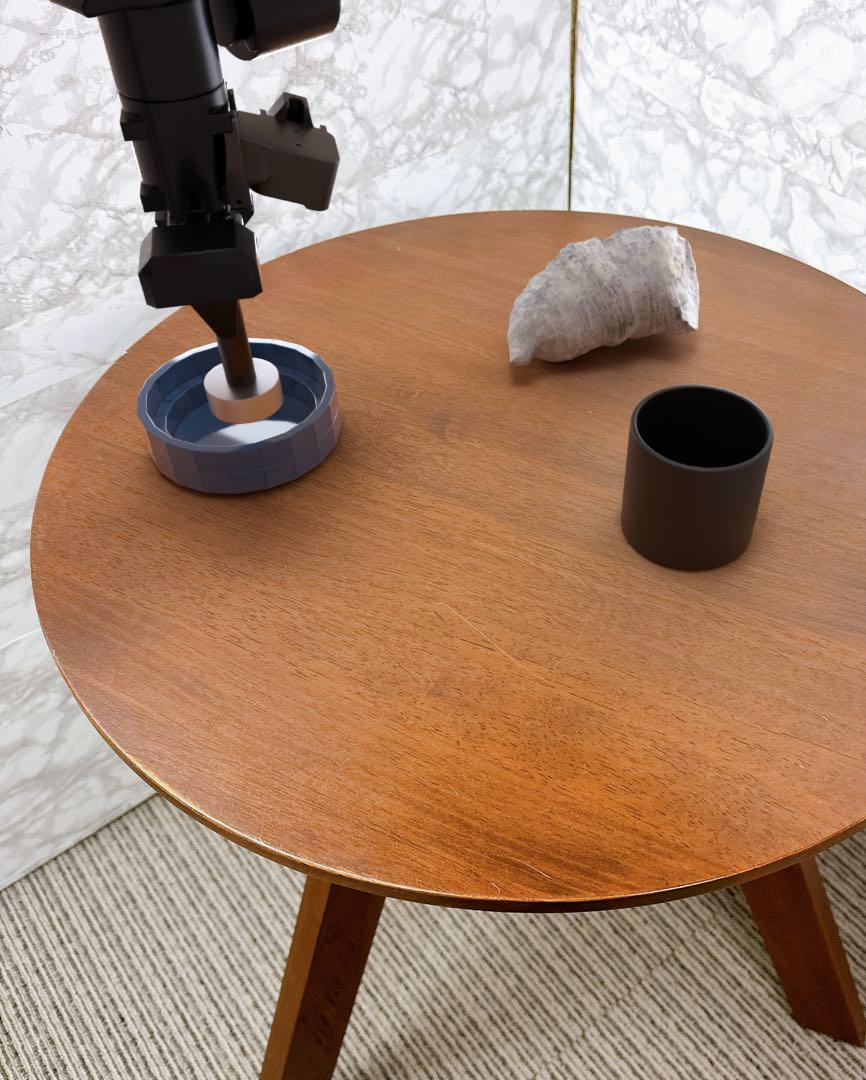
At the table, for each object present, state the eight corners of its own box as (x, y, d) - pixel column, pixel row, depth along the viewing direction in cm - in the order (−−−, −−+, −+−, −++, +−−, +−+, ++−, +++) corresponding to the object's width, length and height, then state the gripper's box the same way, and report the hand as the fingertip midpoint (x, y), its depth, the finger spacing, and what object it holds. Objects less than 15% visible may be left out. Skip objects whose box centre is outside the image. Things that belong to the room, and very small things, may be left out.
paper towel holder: (210, 428, 69) (171, 283, 61) (209, 386, 72) (172, 243, 65) (285, 418, 70) (256, 274, 62) (281, 376, 73) (252, 235, 65)
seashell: (502, 387, 85) (501, 279, 78) (523, 296, 95) (524, 194, 89) (696, 402, 84) (712, 294, 77) (695, 308, 94) (710, 206, 88)
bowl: (151, 513, 73) (134, 465, 70) (152, 397, 83) (138, 350, 80) (352, 482, 76) (345, 435, 73) (330, 374, 86) (323, 328, 83)
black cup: (804, 522, 74) (832, 422, 67) (680, 592, 68) (697, 490, 62) (715, 454, 79) (732, 356, 73) (593, 514, 74) (601, 413, 68)
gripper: (335, 139, 51) (368, 394, 62) (306, 17, 64) (337, 246, 75) (101, 160, 49) (178, 419, 60) (119, 29, 62) (180, 262, 73)
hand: (228, 327), depth 67 cm, fingers closed on paper towel holder
